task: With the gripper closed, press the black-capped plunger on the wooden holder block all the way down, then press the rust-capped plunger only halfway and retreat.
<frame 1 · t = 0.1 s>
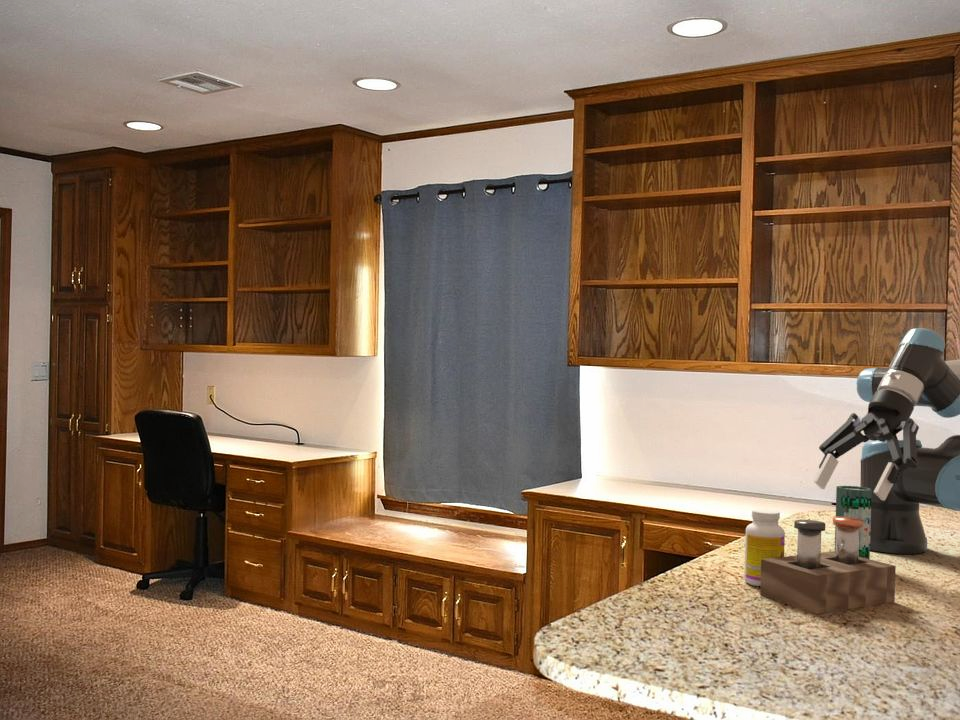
hand: (847, 490, 169), 15 cm above the countertop, tool tilted 35°, fingers open, 13 cm apart
can: (851, 565, 176), on the countertop
wooden holder block: (826, 598, 151), on the countertop
rust plunger: (847, 545, 153), point 8 cm above the countertop, slide at 0.0 cm
supplement bottle: (763, 584, 160), on the countertop
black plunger: (809, 549, 148), point 8 cm above the countertop, slide at 0.0 cm
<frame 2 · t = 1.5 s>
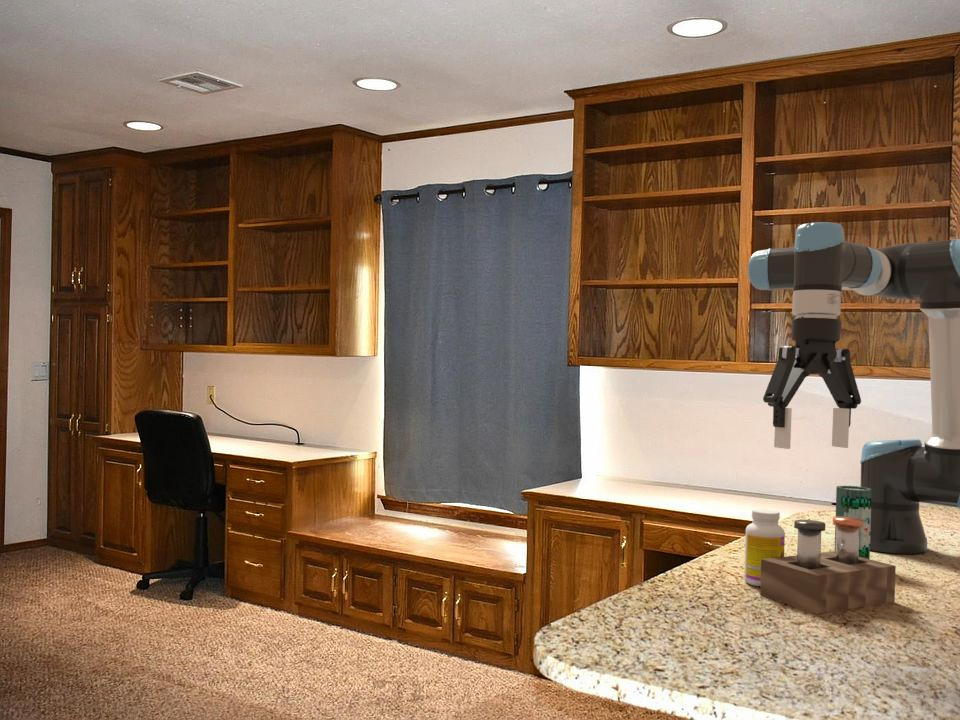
hand: (811, 447, 149), 25 cm above the countertop, tool pointing down, fingers open, 12 cm apart
nothing on the countertop moved.
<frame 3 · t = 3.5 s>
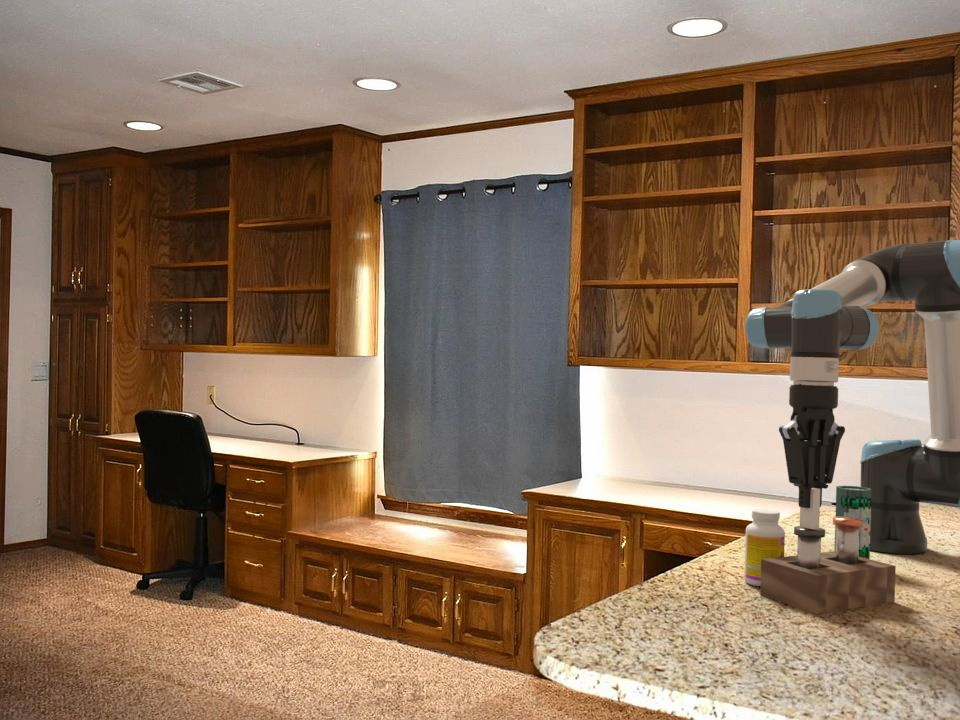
hand: (809, 527, 148), 12 cm above the countertop, tool pointing down, fingers closed
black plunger: (808, 556, 148), point 7 cm above the countertop, slide at 1.1 cm, touching gripper
everything else where it was.
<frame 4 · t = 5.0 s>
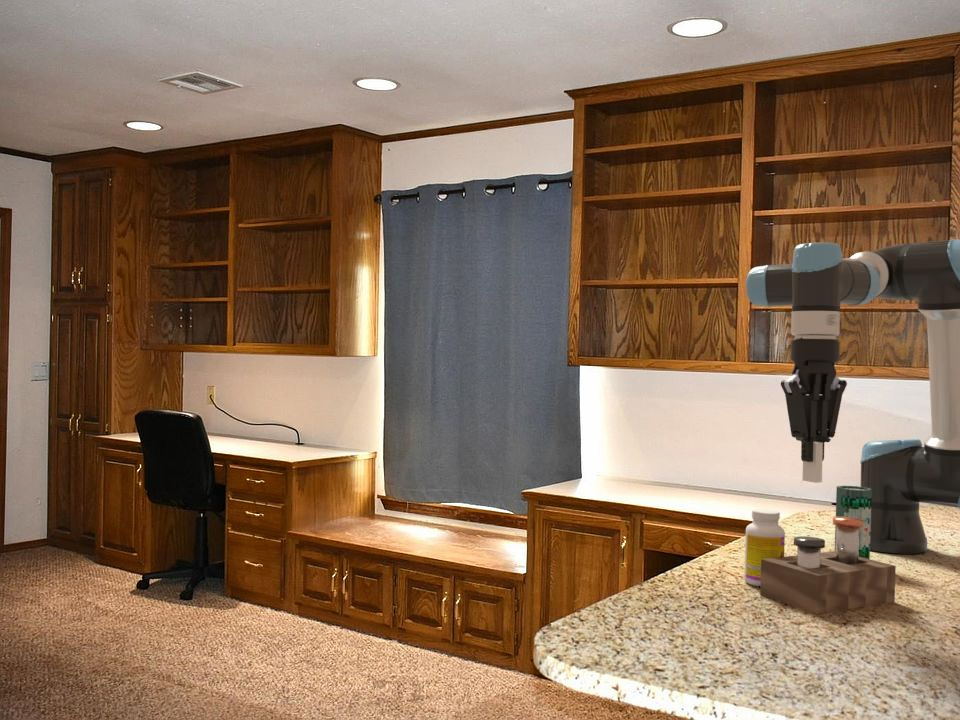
hand: (812, 481, 149), 20 cm above the countertop, tool pointing down, fingers closed
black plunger: (808, 566, 148), point 6 cm above the countertop, slide at 2.8 cm
everything else where it was.
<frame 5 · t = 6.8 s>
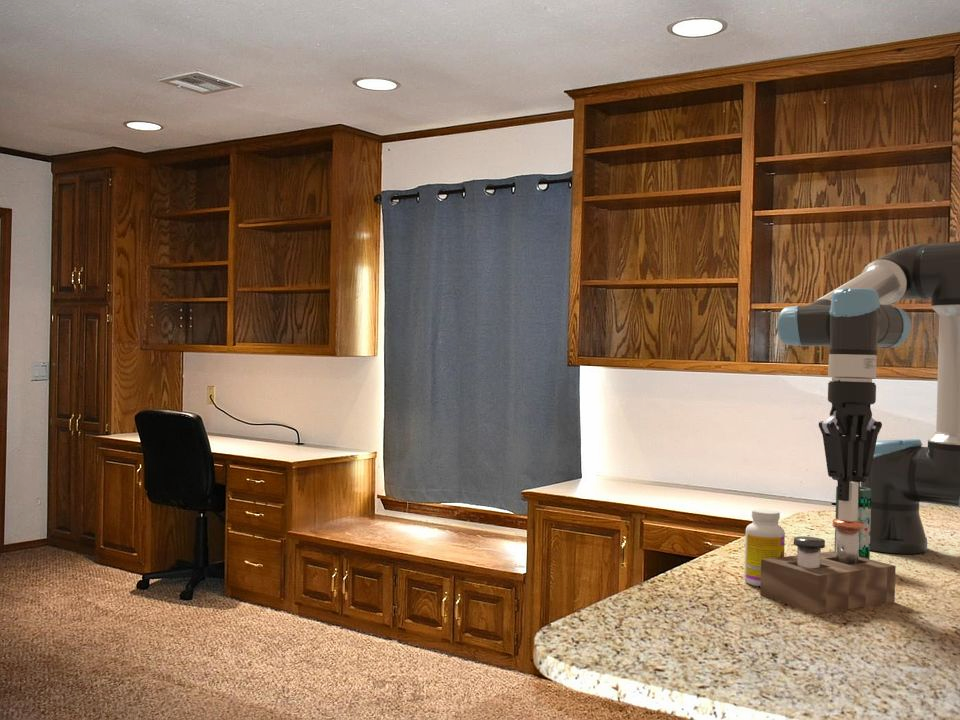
hand: (847, 519, 152), 13 cm above the countertop, tool pointing down, fingers closed
rust plunger: (847, 547, 153), point 8 cm above the countertop, slide at 0.4 cm, touching gripper
everything else where it was.
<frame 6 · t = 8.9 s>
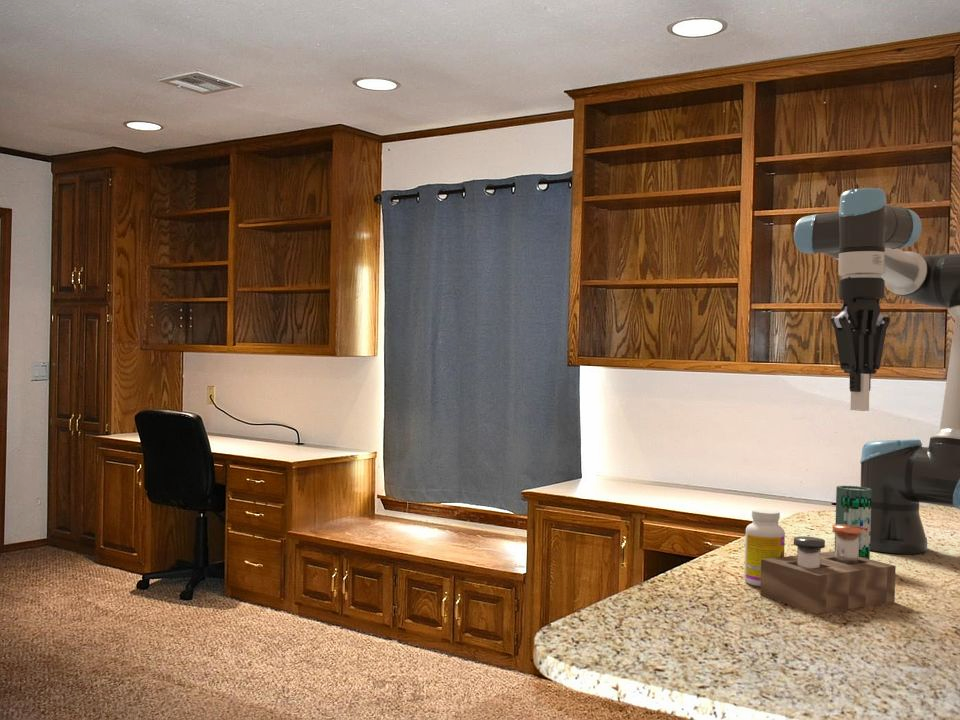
hand: (859, 410, 160), 31 cm above the countertop, tool pointing down, fingers closed
rust plunger: (847, 553, 153), point 7 cm above the countertop, slide at 1.3 cm
everything else where it was.
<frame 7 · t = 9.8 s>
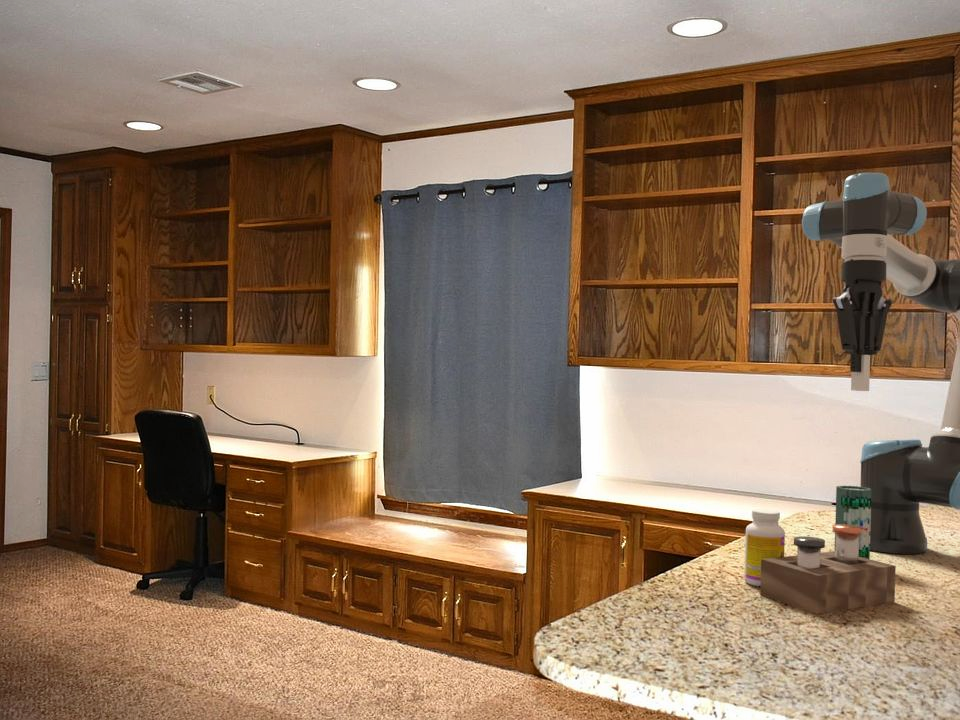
hand: (860, 390, 163), 34 cm above the countertop, tool pointing down, fingers closed
nothing on the countertop moved.
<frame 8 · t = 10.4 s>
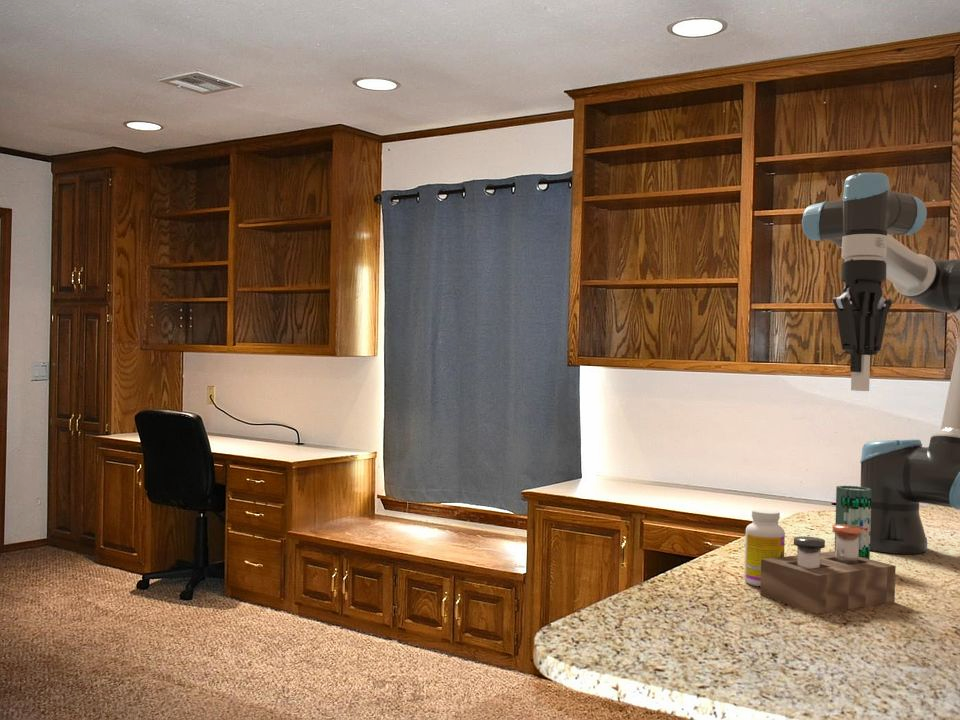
hand: (860, 390, 163), 34 cm above the countertop, tool pointing down, fingers closed
nothing on the countertop moved.
at the end: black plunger slide at 2.8 cm; rust plunger slide at 1.3 cm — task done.
